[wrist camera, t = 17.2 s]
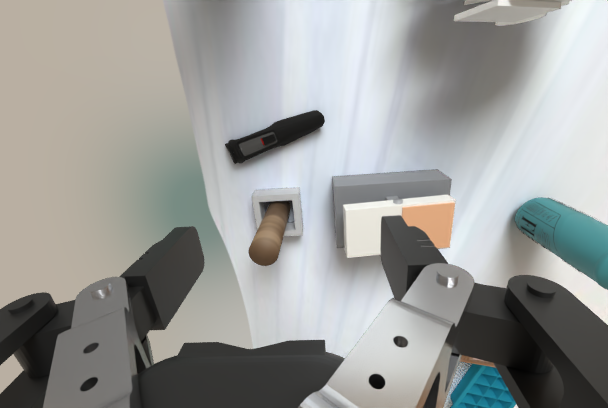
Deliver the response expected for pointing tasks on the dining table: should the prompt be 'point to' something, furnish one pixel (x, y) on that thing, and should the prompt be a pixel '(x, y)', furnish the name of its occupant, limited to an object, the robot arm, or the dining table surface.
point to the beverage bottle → (567, 235)
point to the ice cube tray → (482, 389)
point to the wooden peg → (270, 234)
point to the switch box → (384, 190)
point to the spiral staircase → (508, 11)
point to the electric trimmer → (274, 136)
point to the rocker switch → (415, 211)
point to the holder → (280, 195)
